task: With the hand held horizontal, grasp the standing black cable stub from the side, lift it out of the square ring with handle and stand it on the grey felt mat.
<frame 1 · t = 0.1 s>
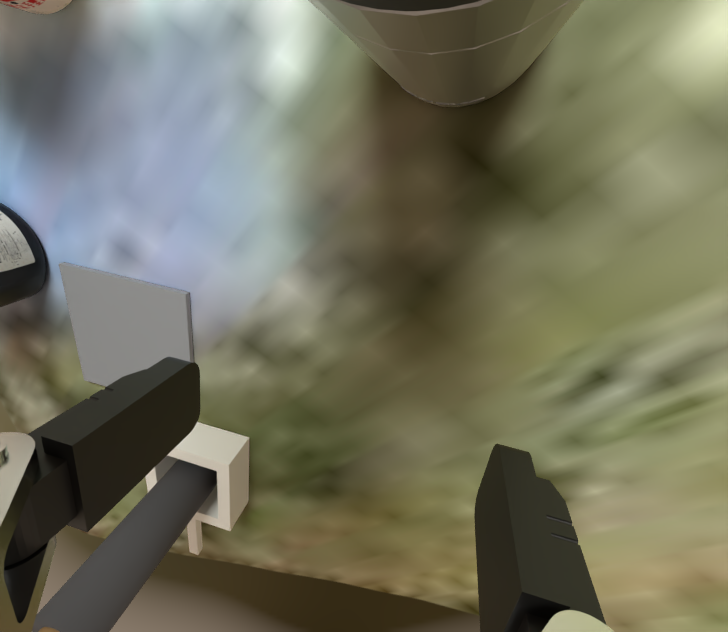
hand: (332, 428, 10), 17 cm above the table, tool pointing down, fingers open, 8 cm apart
square ring with handle: (208, 458, 39), on the table
grey felt mat: (133, 339, 34), on the table
ink bottle: (9, 247, 34), on the table
black cable stub: (143, 537, 31), in the square ring with handle
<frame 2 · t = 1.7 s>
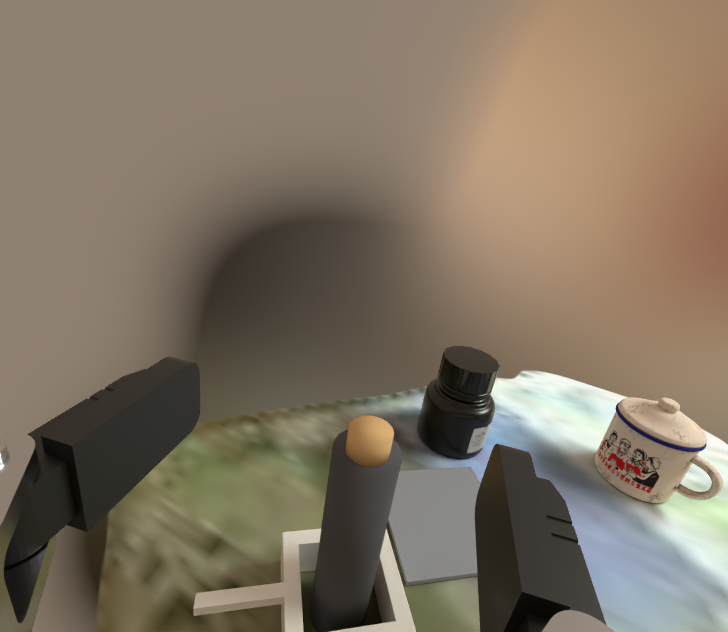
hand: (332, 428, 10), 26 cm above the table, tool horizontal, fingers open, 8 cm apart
square ring with handle: (338, 608, 30), on the table
grey felt mat: (443, 518, 39), on the table
ink bottle: (448, 437, 52), on the table
teacup with lid: (641, 486, 48), on the table
black cable stub: (352, 530, 27), in the square ring with handle
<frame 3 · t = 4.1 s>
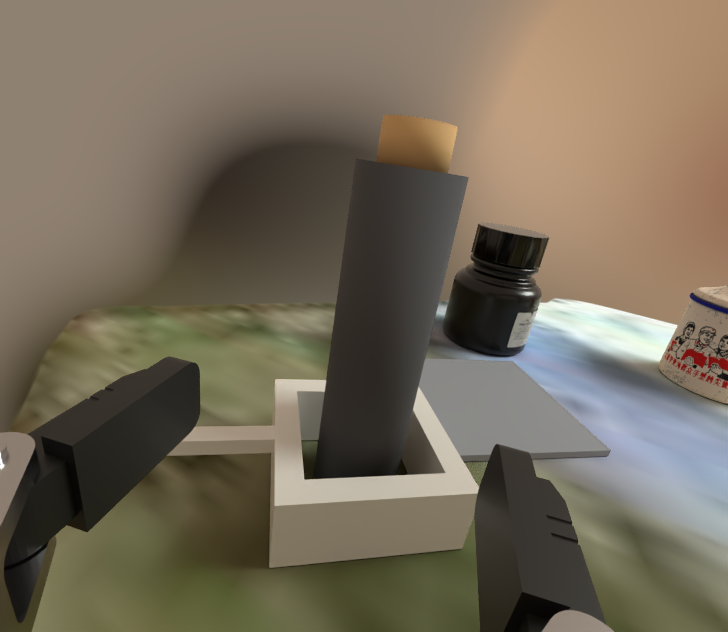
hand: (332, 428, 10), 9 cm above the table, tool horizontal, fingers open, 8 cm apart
square ring with handle: (353, 479, 21), on the table
grey felt mat: (486, 403, 30), on the table
ink bottle: (480, 340, 42), on the table
teacup with lid: (721, 393, 39), on the table
black cable stub: (380, 334, 18), in the square ring with handle
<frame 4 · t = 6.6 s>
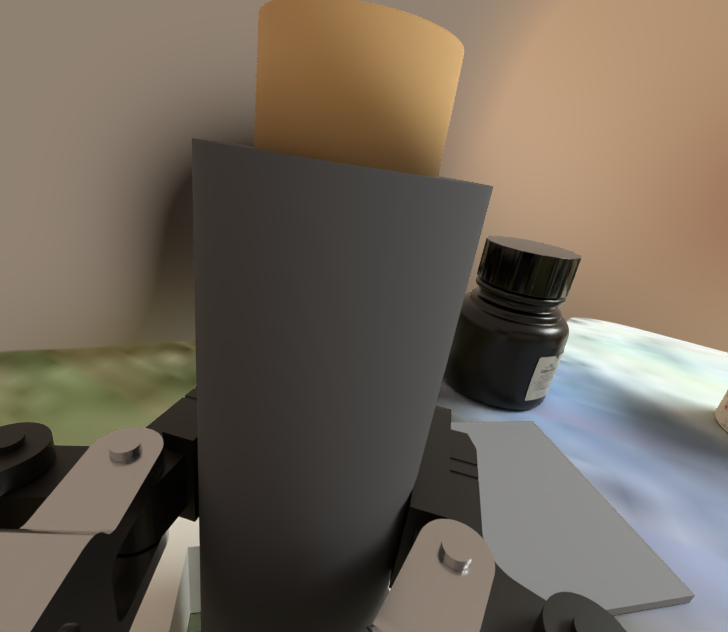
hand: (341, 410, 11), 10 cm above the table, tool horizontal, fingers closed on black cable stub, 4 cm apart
grey felt mat: (501, 500, 21), on the table
ink bottle: (489, 383, 33), on the table
black cable stub: (305, 504, 9), in the square ring with handle, touching gripper
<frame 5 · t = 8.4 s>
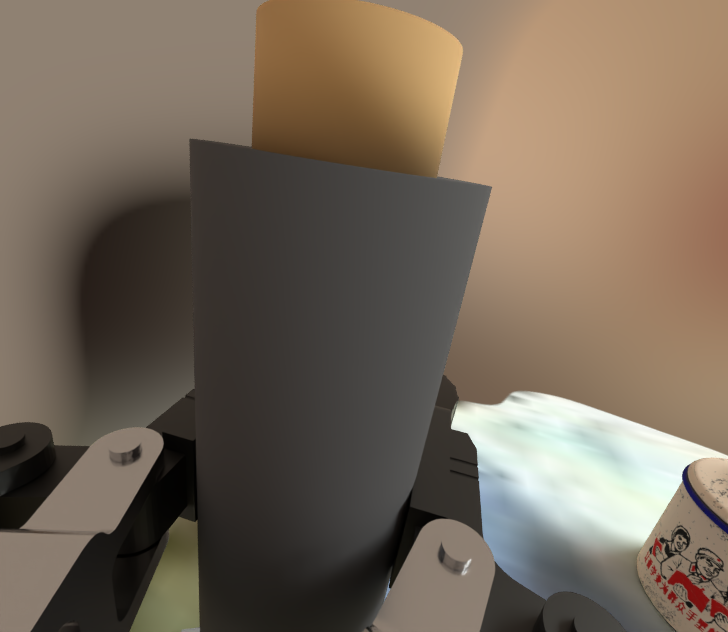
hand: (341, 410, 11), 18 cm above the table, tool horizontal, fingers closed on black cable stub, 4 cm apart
ink bottle: (373, 522, 29), on the table
black cable stub: (304, 505, 9), point 17 cm above the table, touching gripper
when the fingers open (11 cm above the table, at t = 10.3 s): black cable stub drops 1 cm, resting on grey felt mat.
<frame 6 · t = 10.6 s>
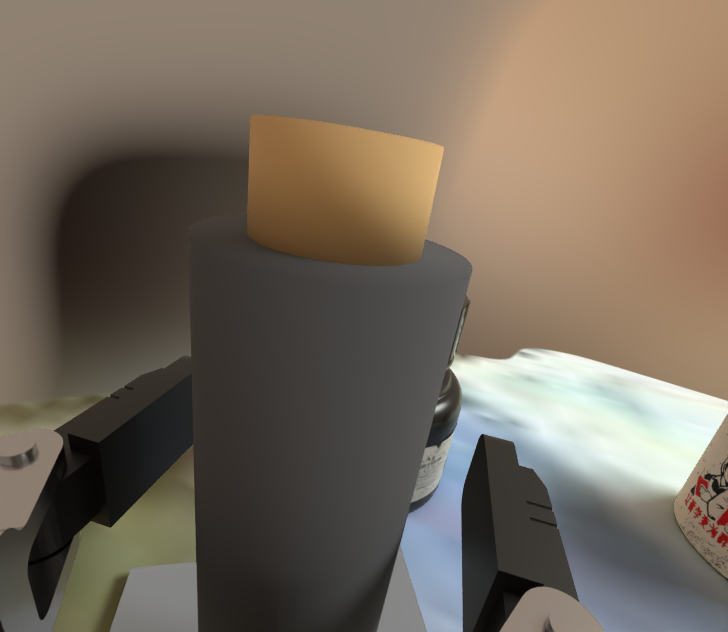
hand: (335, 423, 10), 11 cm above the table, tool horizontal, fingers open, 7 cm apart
ink bottle: (370, 464, 25), on the table
black cable stub: (299, 545, 9), on the grey felt mat
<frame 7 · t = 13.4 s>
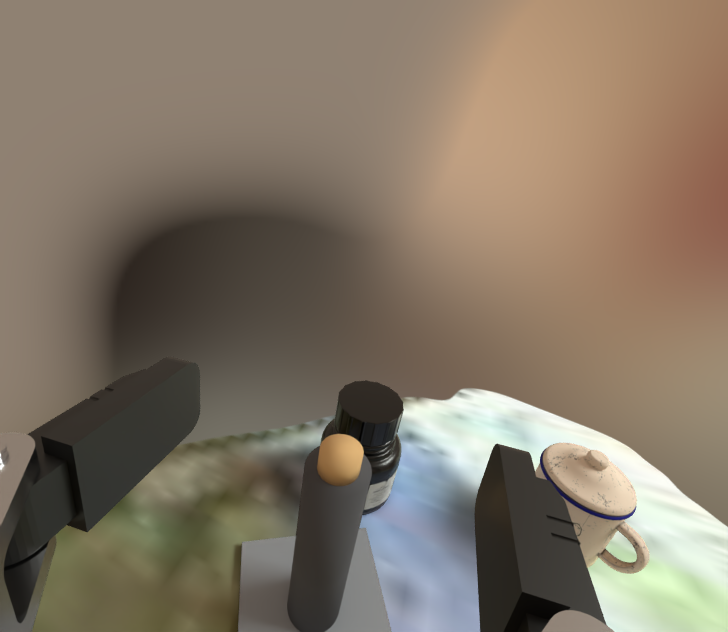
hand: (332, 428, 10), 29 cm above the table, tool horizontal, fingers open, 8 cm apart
grey felt mat: (313, 605, 32), on the table
ink bottle: (352, 483, 44), on the table
teacup with lid: (565, 544, 42), on the table
black cable stub: (325, 537, 28), on the grey felt mat
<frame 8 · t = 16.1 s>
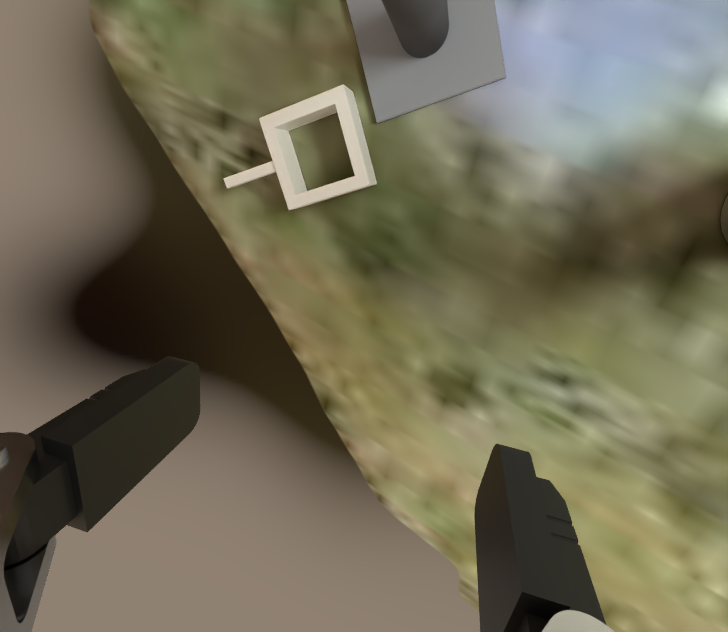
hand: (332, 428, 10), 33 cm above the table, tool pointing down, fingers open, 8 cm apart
square ring with handle: (325, 153, 40), on the table
grey felt mat: (423, 29, 34), on the table
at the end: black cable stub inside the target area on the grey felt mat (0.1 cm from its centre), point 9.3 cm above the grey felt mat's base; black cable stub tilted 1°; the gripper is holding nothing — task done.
